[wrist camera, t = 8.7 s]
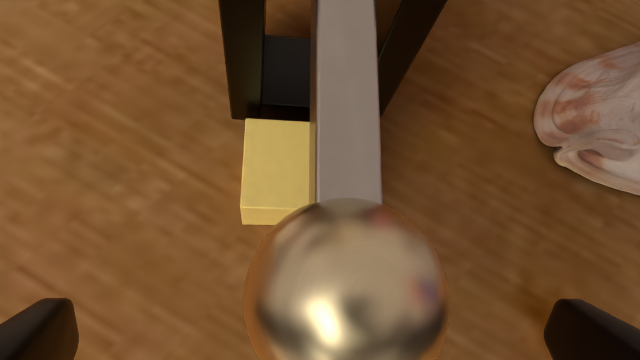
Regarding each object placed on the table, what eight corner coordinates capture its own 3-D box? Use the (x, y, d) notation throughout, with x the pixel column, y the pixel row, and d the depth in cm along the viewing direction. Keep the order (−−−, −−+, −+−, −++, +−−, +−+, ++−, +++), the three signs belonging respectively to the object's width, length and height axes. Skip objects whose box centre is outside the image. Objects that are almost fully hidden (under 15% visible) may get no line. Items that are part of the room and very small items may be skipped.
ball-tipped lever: (411, 382, 8) (506, 440, 5) (241, 387, 8) (230, 454, 4) (387, -95, 11) (438, -245, 8) (265, -112, 10) (268, -278, 7)
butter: (357, 227, 15) (372, 211, 13) (241, 224, 14) (239, 207, 12) (354, 149, 16) (367, 124, 14) (246, 144, 15) (245, 117, 13)
